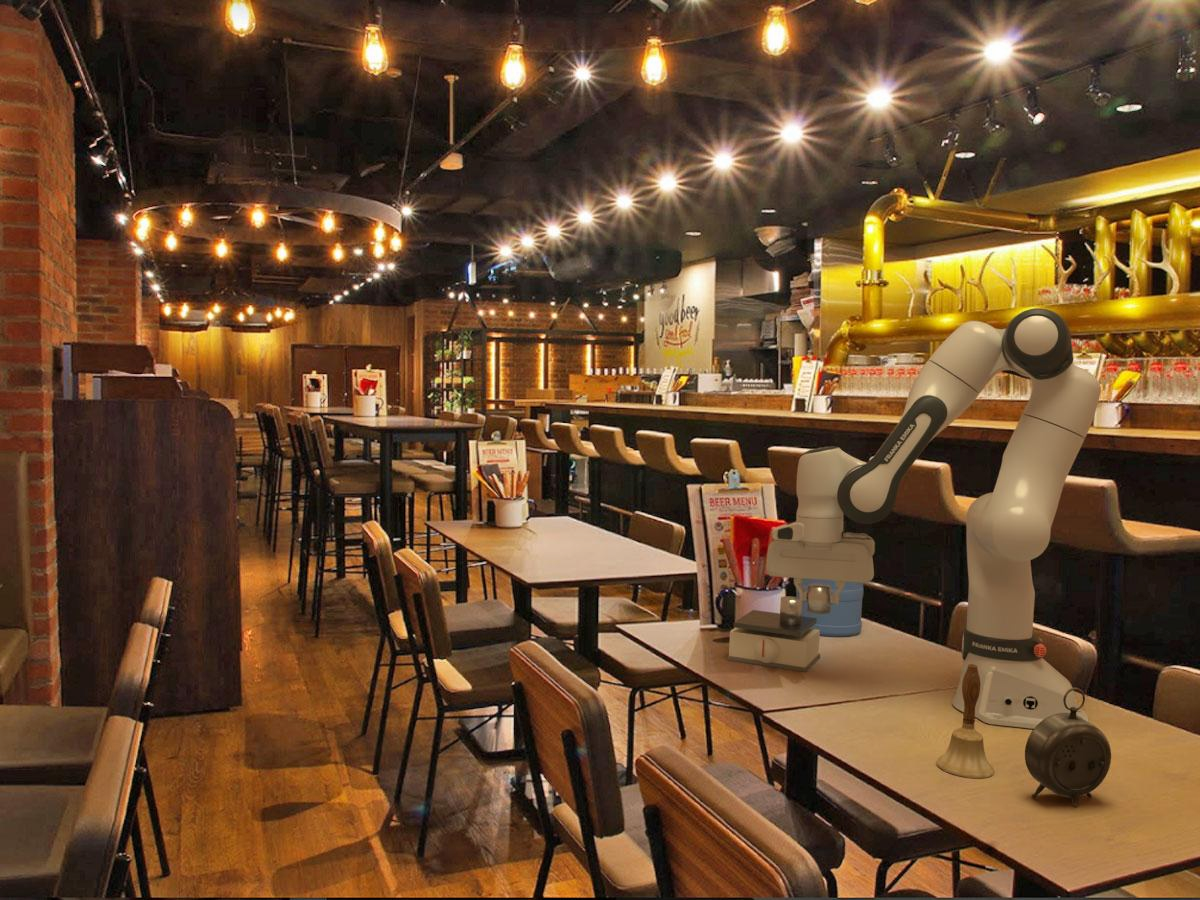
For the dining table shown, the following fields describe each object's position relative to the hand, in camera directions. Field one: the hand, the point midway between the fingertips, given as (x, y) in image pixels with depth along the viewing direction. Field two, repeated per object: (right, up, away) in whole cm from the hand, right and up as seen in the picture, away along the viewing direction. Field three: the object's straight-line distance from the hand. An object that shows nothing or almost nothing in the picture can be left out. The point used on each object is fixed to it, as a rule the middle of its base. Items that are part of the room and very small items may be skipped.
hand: (819, 602), depth 192 cm
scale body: (-6, -15, +18) cm, 24 cm away
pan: (-5, -8, +17) cm, 20 cm away
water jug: (+12, -14, +46) cm, 49 cm away
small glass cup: (0, -2, 0) cm, 2 cm away
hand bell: (+13, -19, -41) cm, 47 cm away
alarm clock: (+23, -20, -52) cm, 61 cm away
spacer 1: (-3, -7, +16) cm, 17 cm away
